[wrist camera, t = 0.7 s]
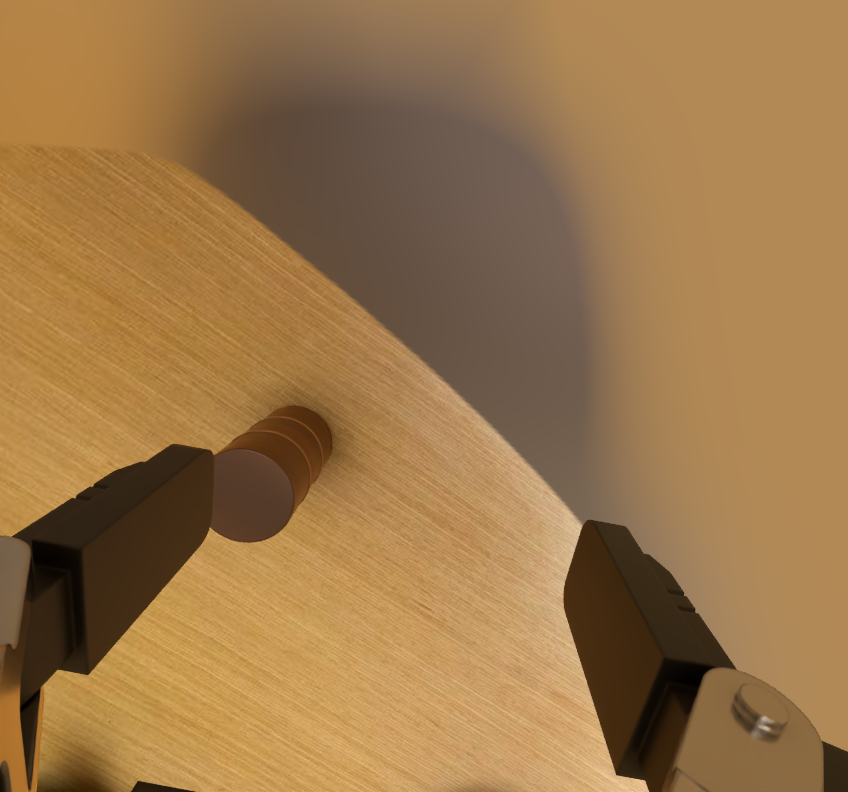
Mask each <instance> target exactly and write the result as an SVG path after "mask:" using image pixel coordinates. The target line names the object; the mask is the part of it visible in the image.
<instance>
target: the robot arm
mask: <svg viewBox="0 0 848 792" xmlns="http://www.w3.org/2000/svg"><path fill="white" fill-rule="evenodd" d="M213 486H214V455H213V453H212V451H210V450H207V449H201V448H196V447H190V446H185V445H179V444H172V445H170V446H168V447H167V448H165V449H164V450H162V451H161V452H160V453H158V454H157V455H155V456H154V457H152V458H151V459H149V460H148V461H146V462H139V463H136V464H133V465H130V466H127V467H124V468H121V469H118V470H116V471H114V472H112V473H110V474H109V475H107V476H106V477H104V478H103V479H101V480H99V481H98V482H96V483H95V484H94V486H93V487H89V488H87V489H85V490H84V491H82V492H81V493H79V494H78V495H77V496H76V498H75V499H74V498H71V499H70V500H68V501H67V502H65V503H64V504H62V505H60V506H59V507H57V508H56V509H54V510H53V511H51V512H50V513H48V514H46V515H45V516H43V517H42V518H40V519H39V520H37V521H35V522H34V523H32V524H31V525H29V526H28V527H26V528H25V529H23V530H21V531H20V532H18V533H17V534H15V535H14V536H12V537H9V536H0V792H37V781H38V768H39V756H40V744H41V732H42V720H43V708H44V688H43V684H44V683H45V682H46V681H47V680H48V679H49V678H50V677H51V676H52V675H53V674H54V673H55V672H56V671H57V670H64V671H69V672H74V673H80V674H85V675H89V674H90V672H91V671H92V670H93V669H94V668H95V667H96V665H97V664H98V663H99V662H100V661H101V660H102V659H103V657H104V656H105V655H106V654H107V653H108V652H109V650H110V649H111V648H112V647H113V646H114V645H115V644H116V642H117V641H118V640H119V639H120V638H121V637H122V635H123V634H124V633H125V632H126V631H127V630H128V629H129V627H130V626H131V625H132V624H133V623H134V622H135V620H136V619H137V618H138V617H139V616H140V615H141V614H142V612H143V611H144V610H145V609H146V608H147V607H148V605H149V604H150V603H151V602H152V601H153V600H154V599H155V597H156V596H157V595H158V594H159V593H160V592H161V590H162V589H163V588H164V587H165V586H166V585H167V584H168V582H169V581H170V580H171V579H172V578H173V577H174V575H175V574H176V573H177V572H178V571H179V570H180V569H181V567H182V566H183V565H184V564H185V563H186V562H187V560H188V559H189V558H190V557H191V556H192V555H193V553H194V552H195V551H196V550H197V549H198V548H199V547H200V545H201V544H202V543H203V541H204V539H205V538H206V535H207V533H208V531H209V528H210V525H211V520H212V511H213ZM564 609H565V614H566V617H567V620H568V623H569V626H570V629H571V633H572V636H573V639H574V642H575V645H576V649H577V652H578V655H579V658H580V661H581V664H582V668H583V671H584V674H585V677H586V680H587V683H588V687H589V690H590V693H591V696H592V699H593V703H594V706H595V709H596V712H597V715H598V718H599V722H600V725H601V728H602V731H603V734H604V737H605V741H606V744H607V747H608V750H609V753H610V757H611V760H612V763H613V766H614V769H615V772H616V775H619V776H624V777H629V778H635V779H640V780H645V781H646V784H647V787H648V789H649V792H848V752H847V751H844V750H842V749H840V748H837V747H835V746H833V745H830V744H828V743H826V742H823V741H821V739H820V736H819V734H818V732H817V730H816V729H815V727H814V726H813V724H812V723H811V721H810V720H809V719H808V718H807V717H806V715H805V714H804V713H803V712H802V711H801V710H800V709H799V708H798V707H797V706H796V705H795V704H794V703H793V702H792V701H791V700H789V699H788V698H787V697H786V696H784V695H783V694H782V693H780V692H779V691H778V690H776V689H775V688H773V687H772V686H770V685H769V684H767V683H765V682H764V681H762V680H760V679H758V678H756V677H754V676H752V675H749V674H747V673H745V672H742V671H739V670H737V669H736V668H735V666H734V665H733V663H732V662H731V661H730V659H729V658H728V656H727V655H726V653H725V652H724V650H723V649H722V647H721V646H720V644H719V643H718V641H717V640H716V639H715V637H714V636H713V634H712V633H711V631H710V630H709V628H708V627H707V625H706V624H705V622H704V621H703V620H702V618H701V617H700V615H699V614H697V613H695V608H694V607H693V605H692V603H691V602H690V601H689V599H688V598H687V597H686V596H684V592H683V590H682V589H681V587H680V586H679V585H678V583H677V582H676V580H675V579H674V577H673V576H672V574H671V573H670V572H669V571H668V570H667V569H665V568H664V567H663V566H662V565H661V564H660V563H658V562H657V561H656V560H655V559H653V558H652V557H651V556H650V555H648V554H643V552H642V550H641V549H640V547H639V546H638V544H637V543H636V541H635V539H634V538H633V536H632V535H631V533H630V532H629V530H628V529H627V528H626V527H625V526H621V525H615V524H610V523H604V522H599V521H594V520H587V521H586V522H585V523H584V525H583V527H582V529H581V532H580V536H579V539H578V542H577V545H576V549H575V552H574V555H573V558H572V561H571V565H570V568H569V571H568V574H567V578H566V581H565V586H564ZM131 792H194V791H189V790H184V789H178V788H173V787H168V786H162V785H157V784H151V783H146V782H141V781H137V783H136V785H135V786H134V788H133V790H132V791H131Z"/></svg>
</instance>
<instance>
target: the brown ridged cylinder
mask: <svg viewBox="0 0 848 792" xmlns="http://www.w3.org/2000/svg"><path fill="white" fill-rule="evenodd" d="M331 449H332V437H331V433H330V431H329V428H328V426H327V425H326V423H325V422H324V420H323V419H322V418H321V417H320V416H319V415H317V414H316V413H315V412H313V411H311V410H309V409H307V408H303V407H298V406H288V407H283V408H280V409H278V410H276V411H274V412H273V413H271V414H270V415H269V416H267V417H266V418H264V419H263V420H261V421H259V422H258V423H256V424H255V425H253V426H252V427H251V428H250V429H249V430H248V431H247V432H245V433H244V434H242V435H240V436H238V437H237V438H235V439H234V440H233V441H232V442H231V443H230V444H229V445H228V446H226V447H225V448H224V449H222V450H221V451H219V452H218V453H217V454H215V455H214V486H213V511H212V520H211V525H210V527H211V528H212V529H213V530H214V531H215V532H217V533H218V534H220V535H222V536H223V537H226V538H228V539H230V540H234V541H238V542H247V543H250V542H259V541H263V540H266V539H269V538H271V537H273V536H274V535H276V534H277V533H279V532H280V531H281V530H282V529H283V528H284V527H285V526H286V525H287V523H288V522H289V520H290V518H291V517H292V515H293V514H294V512H295V511H296V509H297V507H298V506H299V505H300V503H301V502H302V501H303V500H304V498H305V497H306V495H307V493H308V491H309V488H310V487H311V485H312V484H313V483H314V482H315V481H316V479H317V478H318V476H319V474H320V472H321V470H322V468H323V466H324V465H325V463H326V462H327V460H328V458H329V456H330V453H331Z"/></svg>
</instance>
